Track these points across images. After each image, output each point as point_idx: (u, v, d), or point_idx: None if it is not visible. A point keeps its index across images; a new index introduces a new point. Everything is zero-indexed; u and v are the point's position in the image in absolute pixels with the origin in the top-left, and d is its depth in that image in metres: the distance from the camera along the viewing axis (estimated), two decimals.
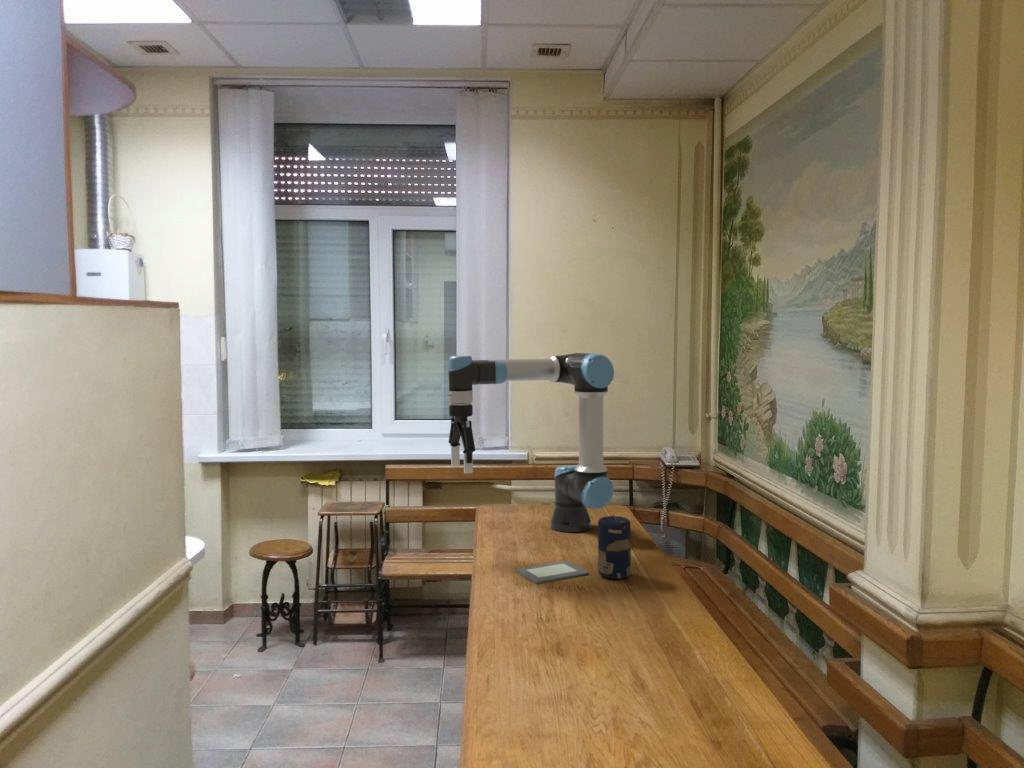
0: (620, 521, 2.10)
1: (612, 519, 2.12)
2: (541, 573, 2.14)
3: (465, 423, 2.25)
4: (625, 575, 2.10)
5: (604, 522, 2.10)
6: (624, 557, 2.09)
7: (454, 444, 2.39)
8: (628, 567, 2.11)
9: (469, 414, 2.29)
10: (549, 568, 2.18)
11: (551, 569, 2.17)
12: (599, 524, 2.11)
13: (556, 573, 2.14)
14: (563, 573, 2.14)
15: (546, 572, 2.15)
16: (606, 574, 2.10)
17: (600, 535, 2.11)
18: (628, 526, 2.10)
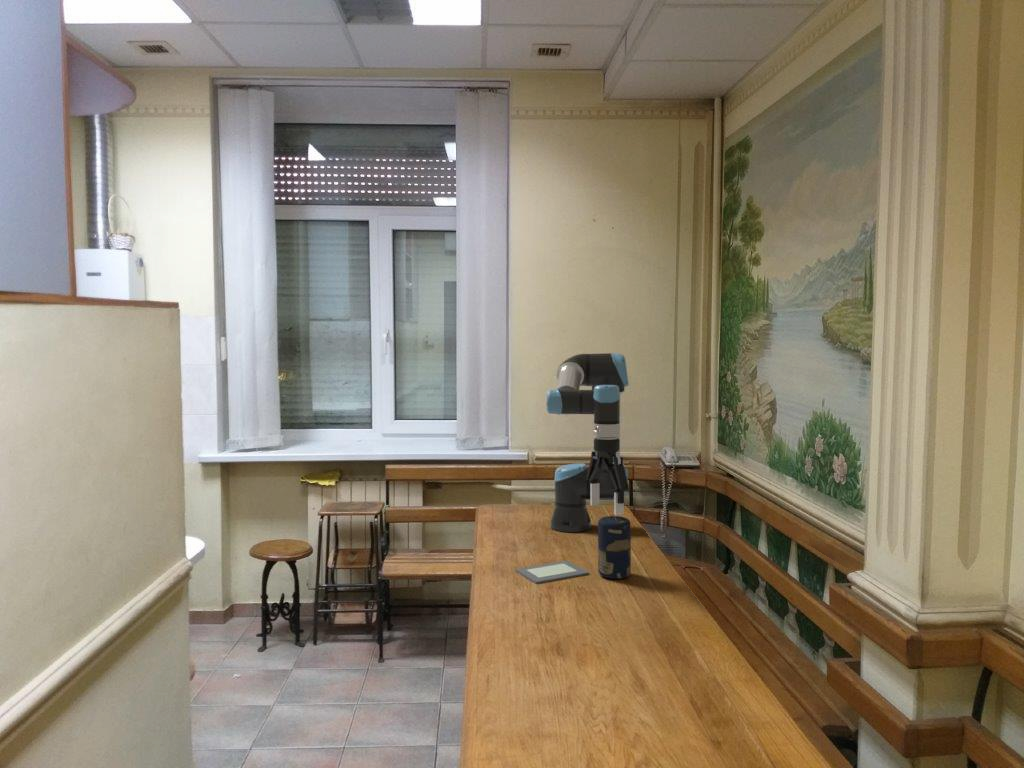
0: (620, 521, 2.10)
1: (612, 519, 2.12)
2: (541, 573, 2.14)
3: (616, 460, 2.05)
4: (625, 575, 2.10)
5: (604, 522, 2.10)
6: (624, 557, 2.09)
7: (594, 481, 2.19)
8: (628, 567, 2.11)
9: (617, 449, 2.10)
10: (549, 568, 2.18)
11: (551, 569, 2.17)
12: (599, 524, 2.11)
13: (556, 573, 2.14)
14: (563, 573, 2.14)
15: (546, 572, 2.15)
16: (606, 574, 2.10)
17: (600, 535, 2.11)
18: (628, 526, 2.10)
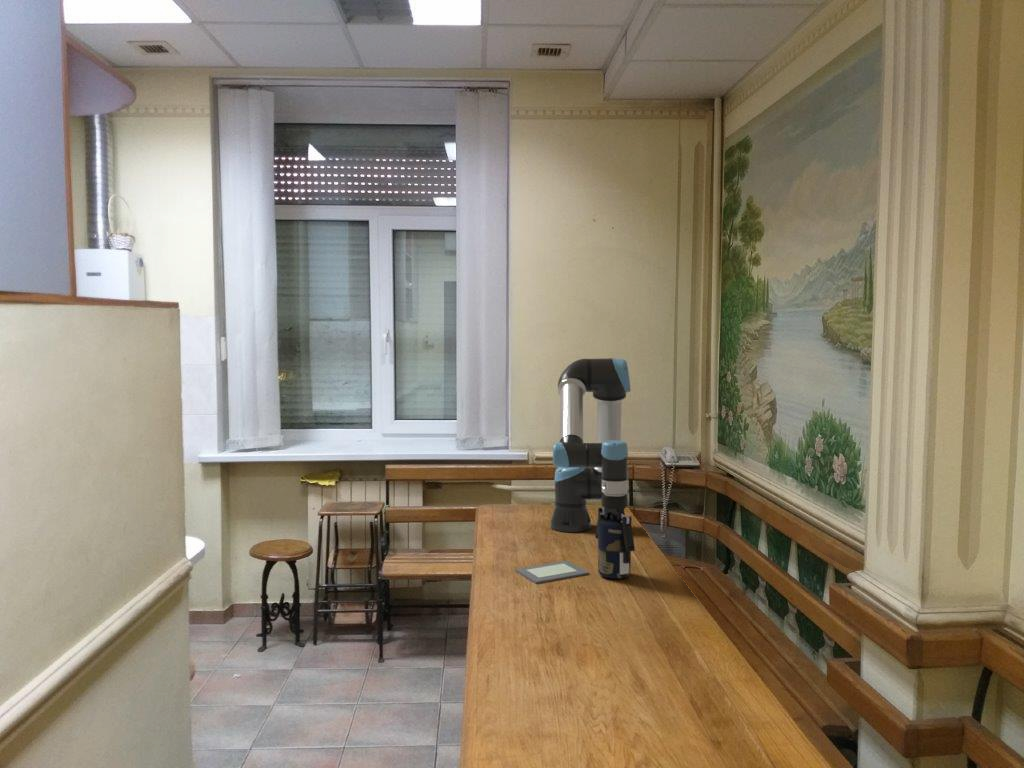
0: (620, 521, 2.10)
1: None
2: (541, 573, 2.14)
3: (625, 520, 2.06)
4: (625, 575, 2.10)
5: (604, 522, 2.10)
6: None
7: None
8: None
9: (625, 505, 2.10)
10: (549, 568, 2.18)
11: (551, 569, 2.17)
12: (599, 524, 2.11)
13: (556, 573, 2.14)
14: (563, 573, 2.14)
15: (546, 572, 2.15)
16: (606, 574, 2.10)
17: (600, 535, 2.11)
18: None
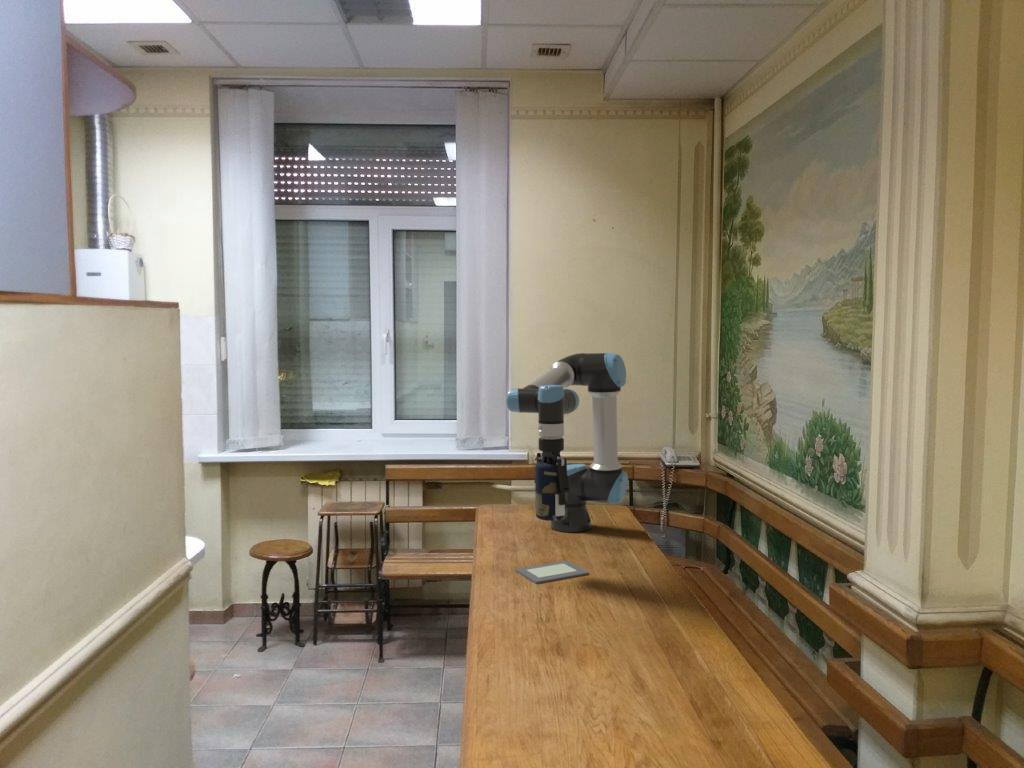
0: (556, 464, 2.12)
1: None
2: (541, 573, 2.14)
3: (560, 462, 2.08)
4: (561, 517, 2.12)
5: (540, 465, 2.12)
6: None
7: None
8: None
9: (562, 448, 2.12)
10: (549, 568, 2.18)
11: (551, 569, 2.17)
12: (536, 467, 2.13)
13: (556, 573, 2.14)
14: (563, 573, 2.14)
15: (546, 572, 2.15)
16: (542, 516, 2.12)
17: (536, 478, 2.13)
18: None
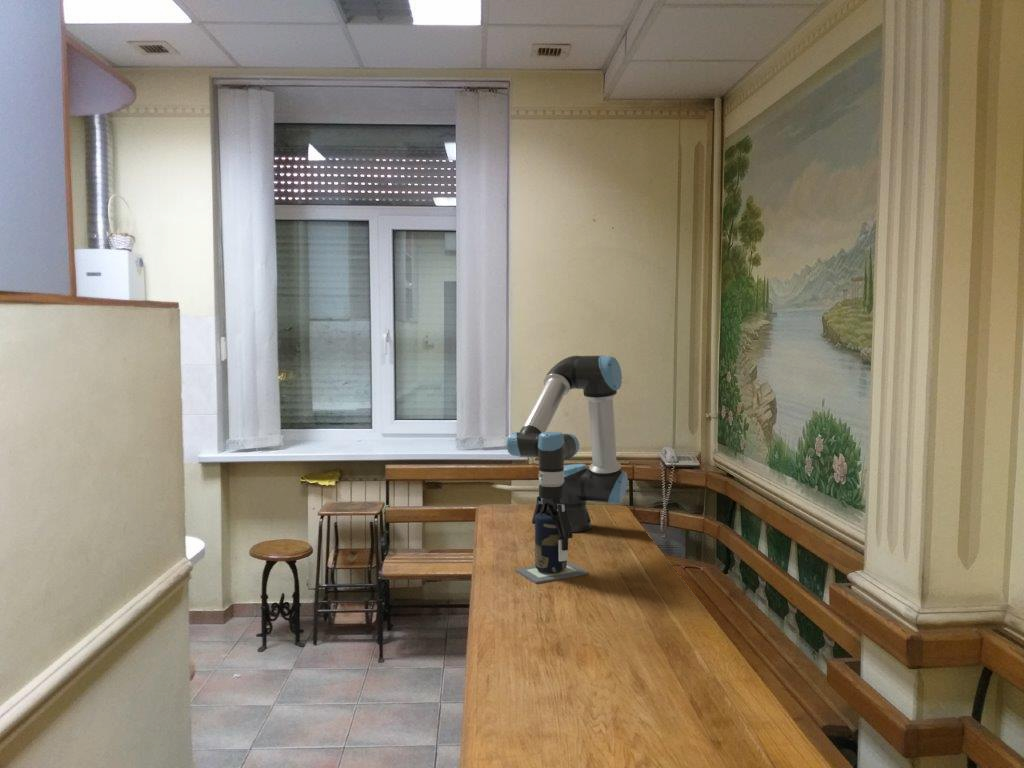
0: None
1: None
2: (541, 573, 2.14)
3: (560, 507, 2.09)
4: (560, 569, 2.13)
5: (540, 517, 2.13)
6: None
7: None
8: (563, 561, 2.14)
9: (562, 496, 2.13)
10: None
11: None
12: (535, 519, 2.15)
13: (556, 573, 2.14)
14: (563, 573, 2.14)
15: (546, 572, 2.15)
16: (542, 568, 2.13)
17: (536, 530, 2.14)
18: None
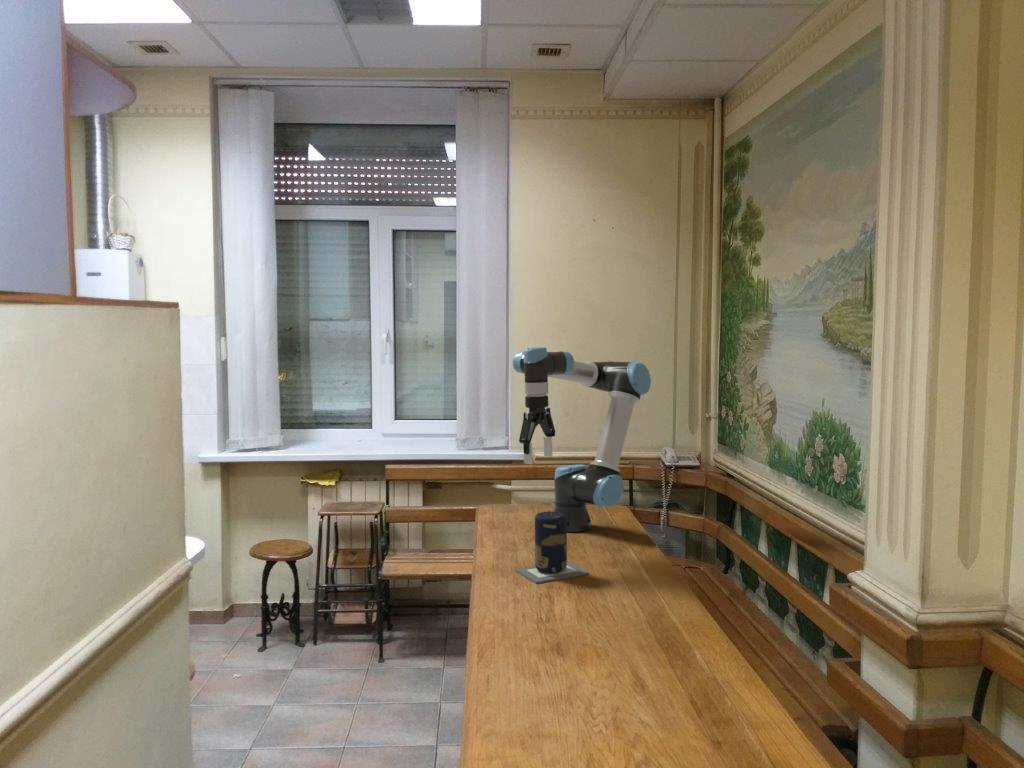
0: (555, 516, 2.13)
1: (548, 514, 2.16)
2: (541, 573, 2.14)
3: (524, 414, 2.29)
4: (560, 569, 2.13)
5: (540, 517, 2.13)
6: (559, 552, 2.12)
7: (547, 434, 2.41)
8: (563, 561, 2.14)
9: (536, 406, 2.31)
10: None
11: None
12: (535, 519, 2.15)
13: (556, 573, 2.14)
14: (563, 573, 2.14)
15: None
16: (542, 568, 2.13)
17: (536, 530, 2.14)
18: (564, 521, 2.13)
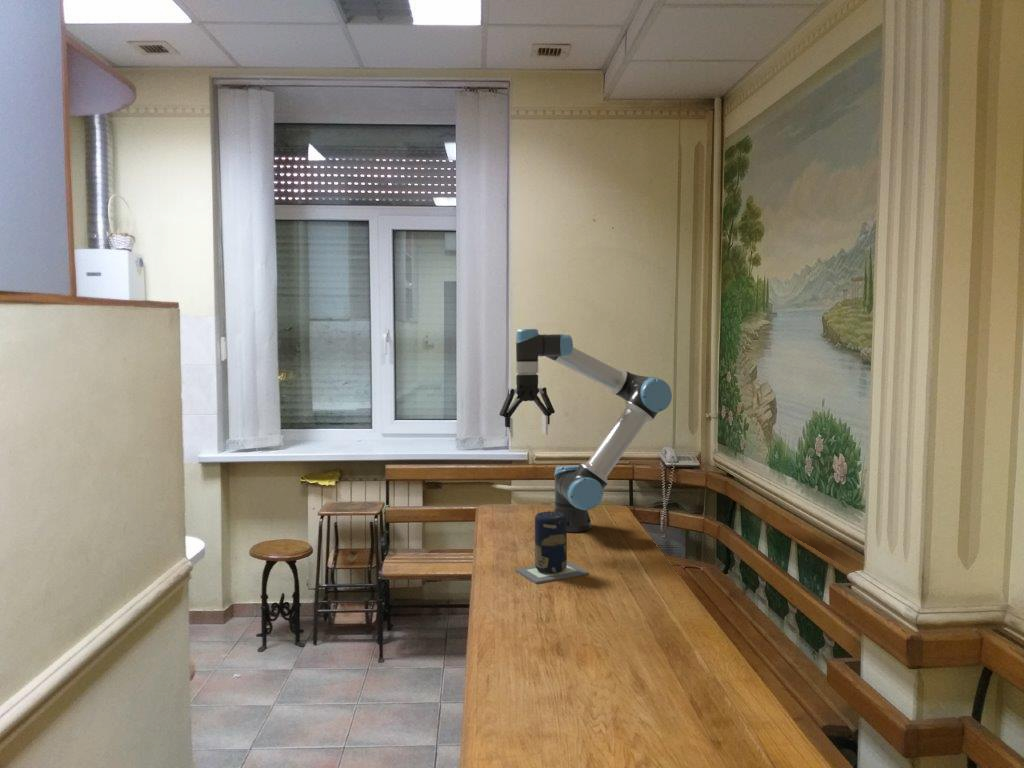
0: (555, 516, 2.13)
1: (548, 514, 2.16)
2: (541, 573, 2.14)
3: (508, 390, 2.46)
4: (560, 569, 2.13)
5: (540, 517, 2.13)
6: (559, 552, 2.12)
7: (545, 413, 2.52)
8: (563, 561, 2.14)
9: (521, 383, 2.45)
10: None
11: None
12: (535, 519, 2.15)
13: (556, 573, 2.14)
14: (563, 573, 2.14)
15: None
16: (542, 568, 2.13)
17: (536, 530, 2.14)
18: (564, 521, 2.13)
